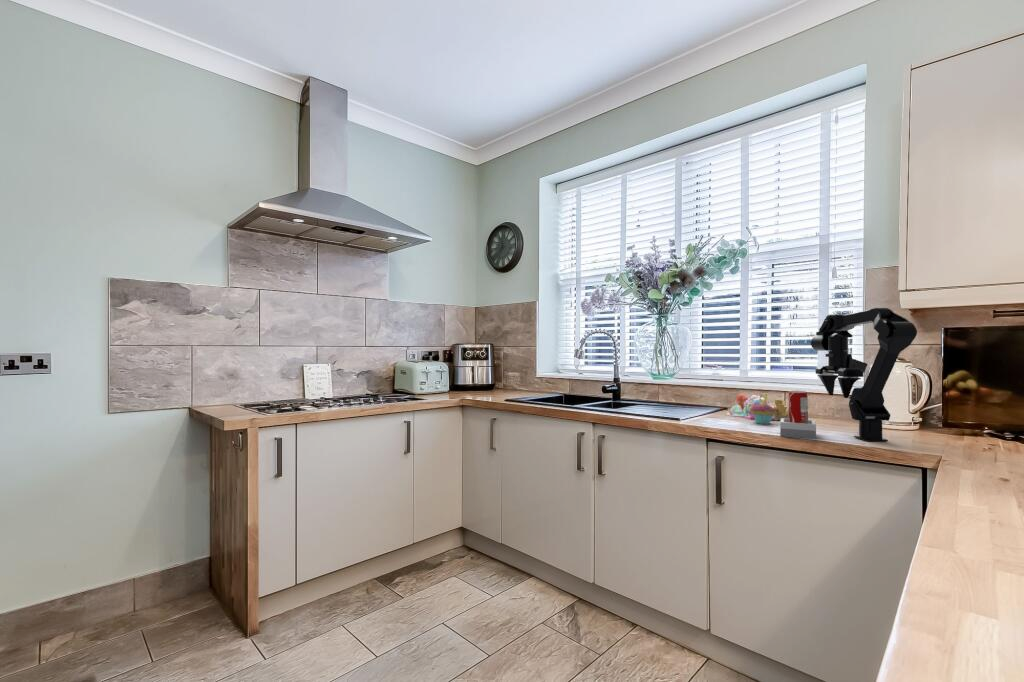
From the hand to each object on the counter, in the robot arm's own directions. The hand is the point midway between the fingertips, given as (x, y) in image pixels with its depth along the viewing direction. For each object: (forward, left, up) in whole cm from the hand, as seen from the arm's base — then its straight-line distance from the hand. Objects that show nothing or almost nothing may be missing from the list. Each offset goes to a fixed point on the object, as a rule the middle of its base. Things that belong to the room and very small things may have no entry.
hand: (838, 396), depth 170 cm
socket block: (-7, +17, -12) cm, 22 cm away
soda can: (-7, +16, -10) cm, 20 cm away
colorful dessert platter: (+36, +12, -13) cm, 40 cm away
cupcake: (+18, +18, -12) cm, 28 cm away
